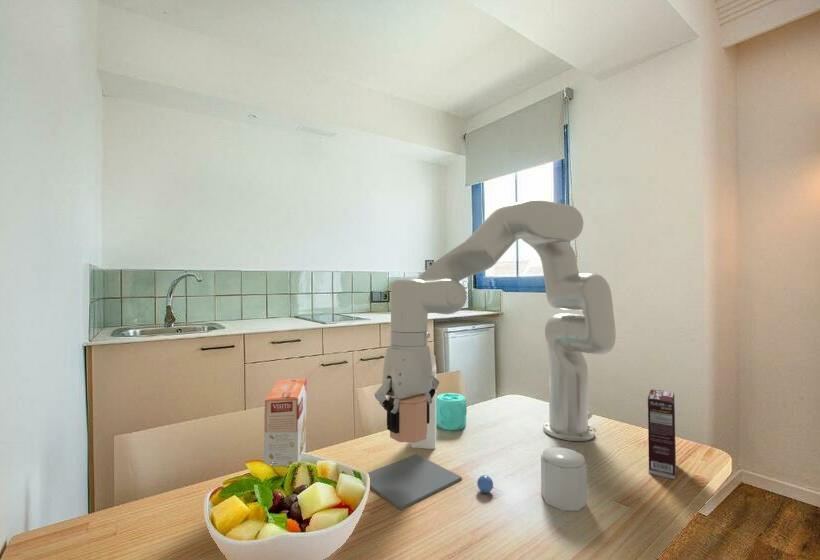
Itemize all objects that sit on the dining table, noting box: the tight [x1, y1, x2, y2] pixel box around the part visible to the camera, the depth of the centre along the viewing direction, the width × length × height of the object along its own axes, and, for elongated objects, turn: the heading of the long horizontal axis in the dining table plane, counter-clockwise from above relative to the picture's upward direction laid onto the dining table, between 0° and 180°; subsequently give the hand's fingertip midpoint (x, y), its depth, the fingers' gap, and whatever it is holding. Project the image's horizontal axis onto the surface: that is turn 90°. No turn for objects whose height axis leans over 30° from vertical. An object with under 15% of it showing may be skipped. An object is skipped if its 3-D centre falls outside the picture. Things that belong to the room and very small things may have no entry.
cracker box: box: [263, 378, 308, 467], centre depth 71 cm, size 14×6×21 cm, turn 9°
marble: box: [476, 474, 494, 494], centre depth 74 cm, size 3×3×3 cm
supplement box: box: [647, 389, 677, 480], centre depth 83 cm, size 9×5×16 cm, turn 145°
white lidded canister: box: [540, 446, 588, 512], centre depth 71 cm, size 7×7×8 cm
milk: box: [410, 354, 437, 450], centre depth 96 cm, size 6×6×22 cm
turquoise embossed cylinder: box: [436, 392, 468, 432], centre depth 108 cm, size 8×8×8 cm
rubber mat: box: [367, 453, 463, 511], centre depth 78 cm, size 16×14×1 cm
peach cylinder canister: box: [389, 394, 427, 444], centre depth 78 cm, size 7×7×8 cm
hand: (408, 425), depth 78 cm, fingers closed on peach cylinder canister, 7 cm apart
